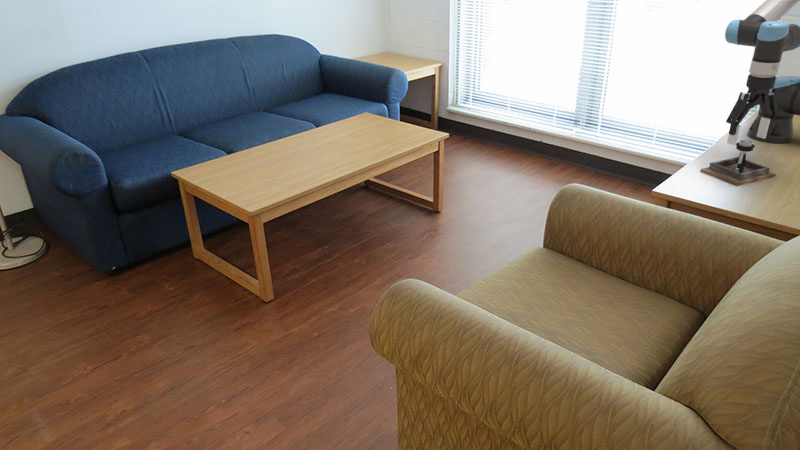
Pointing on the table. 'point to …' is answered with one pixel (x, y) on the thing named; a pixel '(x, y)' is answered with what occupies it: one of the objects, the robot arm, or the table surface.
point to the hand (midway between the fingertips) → (746, 140)
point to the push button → (742, 154)
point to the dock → (727, 173)
